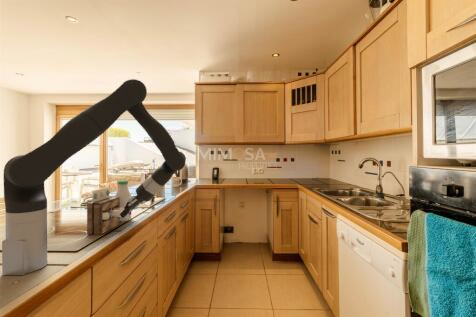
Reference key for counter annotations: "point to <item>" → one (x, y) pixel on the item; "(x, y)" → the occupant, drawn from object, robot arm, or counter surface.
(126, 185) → the milk bottle
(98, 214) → the brown wooden box
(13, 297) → the counter surface
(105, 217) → the left button
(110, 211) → the middle button
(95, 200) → the card
